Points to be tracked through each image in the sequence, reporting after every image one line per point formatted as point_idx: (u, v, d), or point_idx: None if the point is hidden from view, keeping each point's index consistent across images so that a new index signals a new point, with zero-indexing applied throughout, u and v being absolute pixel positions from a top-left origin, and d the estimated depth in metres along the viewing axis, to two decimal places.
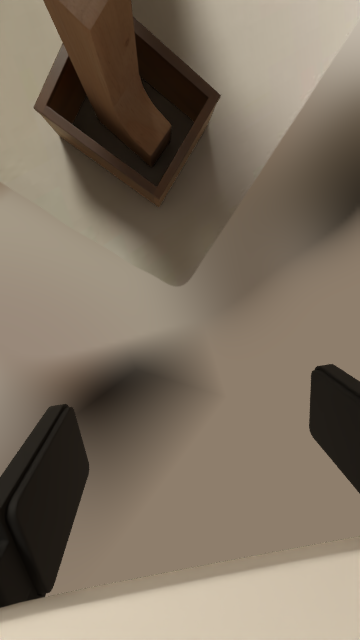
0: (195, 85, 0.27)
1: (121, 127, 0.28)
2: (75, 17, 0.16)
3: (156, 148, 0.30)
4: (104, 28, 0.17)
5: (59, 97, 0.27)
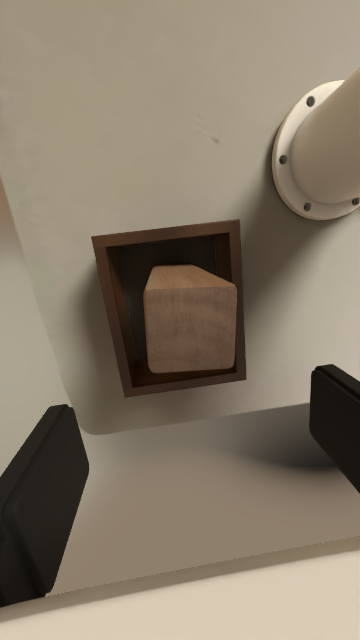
0: (236, 356, 0.25)
1: None
2: (149, 353, 0.12)
3: None
4: None
5: None
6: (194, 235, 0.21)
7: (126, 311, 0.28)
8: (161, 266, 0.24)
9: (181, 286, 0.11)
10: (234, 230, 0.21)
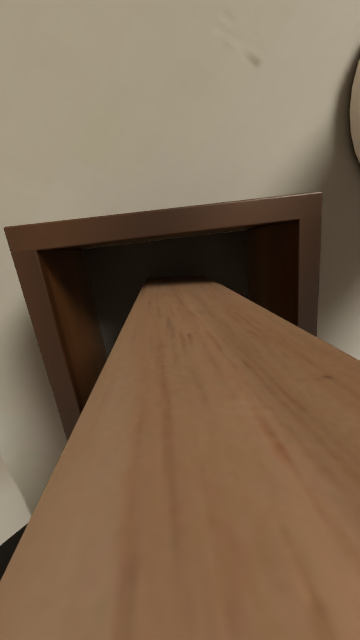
0: None
1: None
2: None
3: None
4: None
5: None
6: (227, 225, 0.10)
7: (100, 357, 0.17)
8: (158, 286, 0.13)
9: None
10: (310, 215, 0.10)
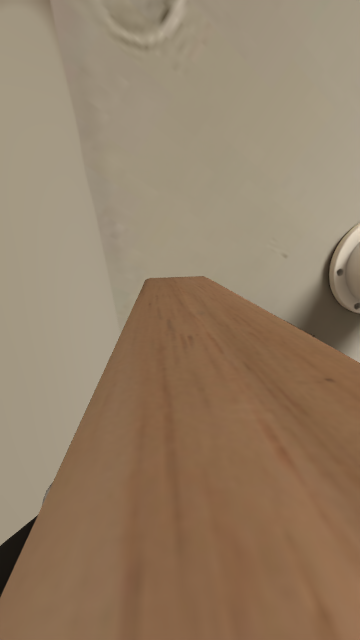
0: None
1: None
2: None
3: None
4: None
5: None
6: None
7: None
8: (158, 286, 0.13)
9: None
10: None
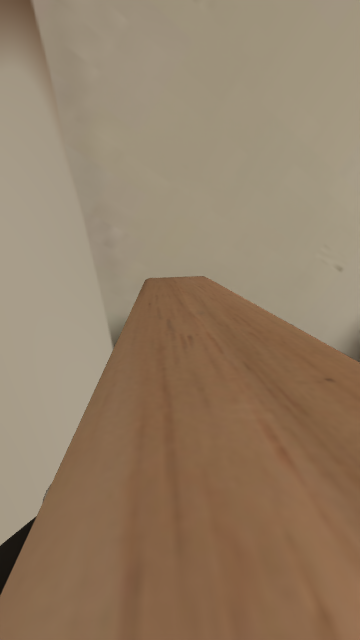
0: None
1: None
2: None
3: None
4: None
5: None
6: None
7: None
8: (157, 286, 0.13)
9: None
10: None
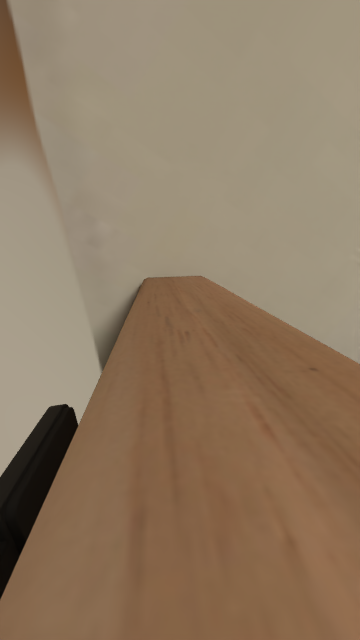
0: None
1: None
2: None
3: None
4: None
5: None
6: None
7: None
8: (156, 286, 0.13)
9: None
10: None
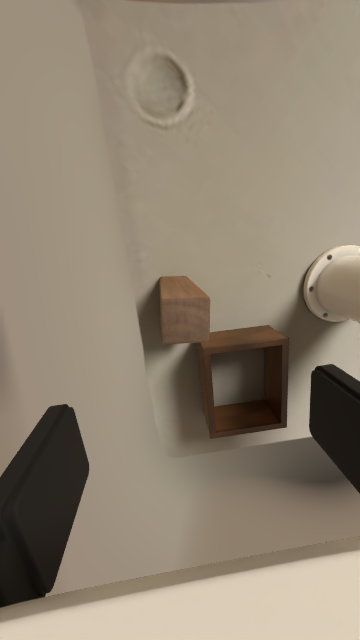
0: (281, 413, 0.40)
1: (160, 315, 0.35)
2: (162, 333, 0.22)
3: None
4: None
5: None
6: None
7: None
8: (166, 279, 0.34)
9: (180, 297, 0.22)
10: (285, 343, 0.36)
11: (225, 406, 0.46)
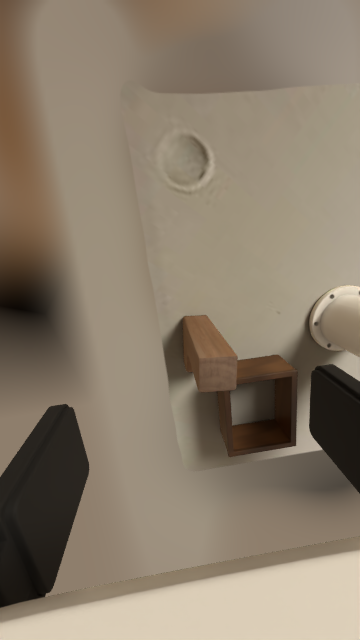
0: (291, 434, 0.45)
1: (186, 353, 0.40)
2: (199, 384, 0.28)
3: (193, 371, 0.42)
4: None
5: None
6: (274, 378, 0.41)
7: None
8: (191, 322, 0.40)
9: (213, 356, 0.27)
10: (294, 375, 0.41)
11: (240, 425, 0.51)
